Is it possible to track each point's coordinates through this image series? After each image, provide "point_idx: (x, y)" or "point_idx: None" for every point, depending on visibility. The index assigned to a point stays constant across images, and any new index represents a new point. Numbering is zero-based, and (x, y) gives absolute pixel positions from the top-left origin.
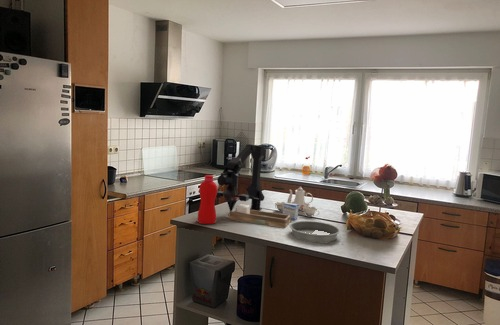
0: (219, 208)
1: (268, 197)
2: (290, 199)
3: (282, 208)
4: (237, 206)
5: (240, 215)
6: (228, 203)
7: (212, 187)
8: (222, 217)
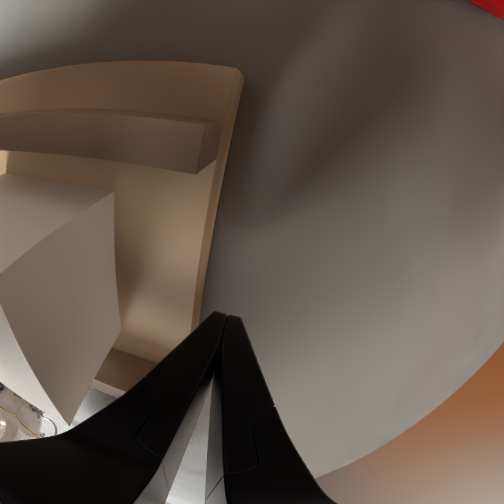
0: (357, 437)
1: (168, 494)
2: (4, 432)
3: (5, 393)
4: None
5: (30, 113)
6: (274, 452)
7: None
8: (353, 167)
